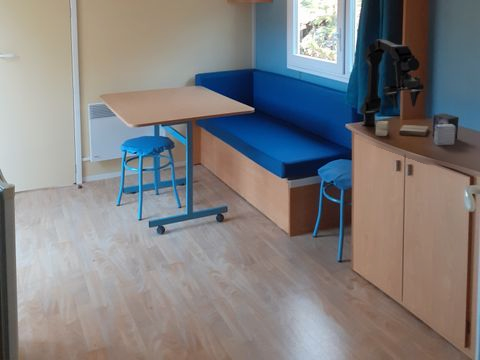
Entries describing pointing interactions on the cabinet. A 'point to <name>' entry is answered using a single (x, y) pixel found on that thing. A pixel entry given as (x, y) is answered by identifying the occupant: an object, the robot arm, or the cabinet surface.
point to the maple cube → (381, 128)
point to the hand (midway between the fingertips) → (405, 107)
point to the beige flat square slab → (413, 130)
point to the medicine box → (444, 134)
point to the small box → (445, 121)
